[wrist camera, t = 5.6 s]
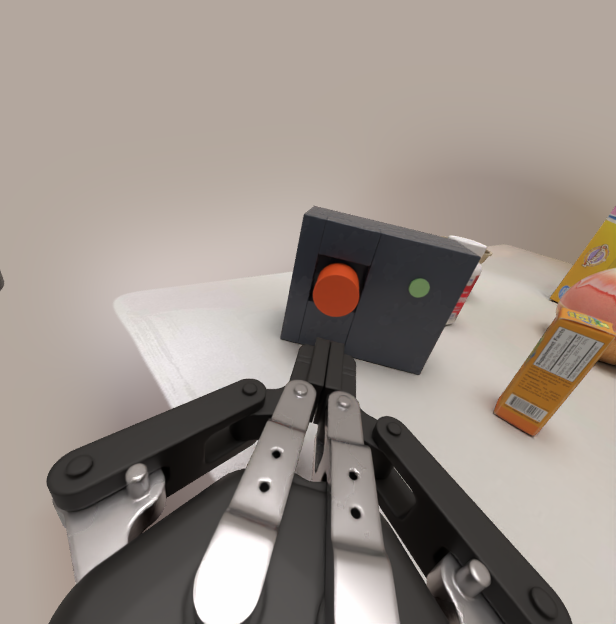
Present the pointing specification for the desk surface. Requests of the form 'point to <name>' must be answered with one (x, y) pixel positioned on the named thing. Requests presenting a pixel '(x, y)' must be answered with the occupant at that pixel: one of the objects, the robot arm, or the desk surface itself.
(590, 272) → the game box
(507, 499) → the desk surface
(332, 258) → the control box
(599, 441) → the desk surface
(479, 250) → the pill bottle
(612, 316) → the vase
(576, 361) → the supplement box
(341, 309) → the knob
